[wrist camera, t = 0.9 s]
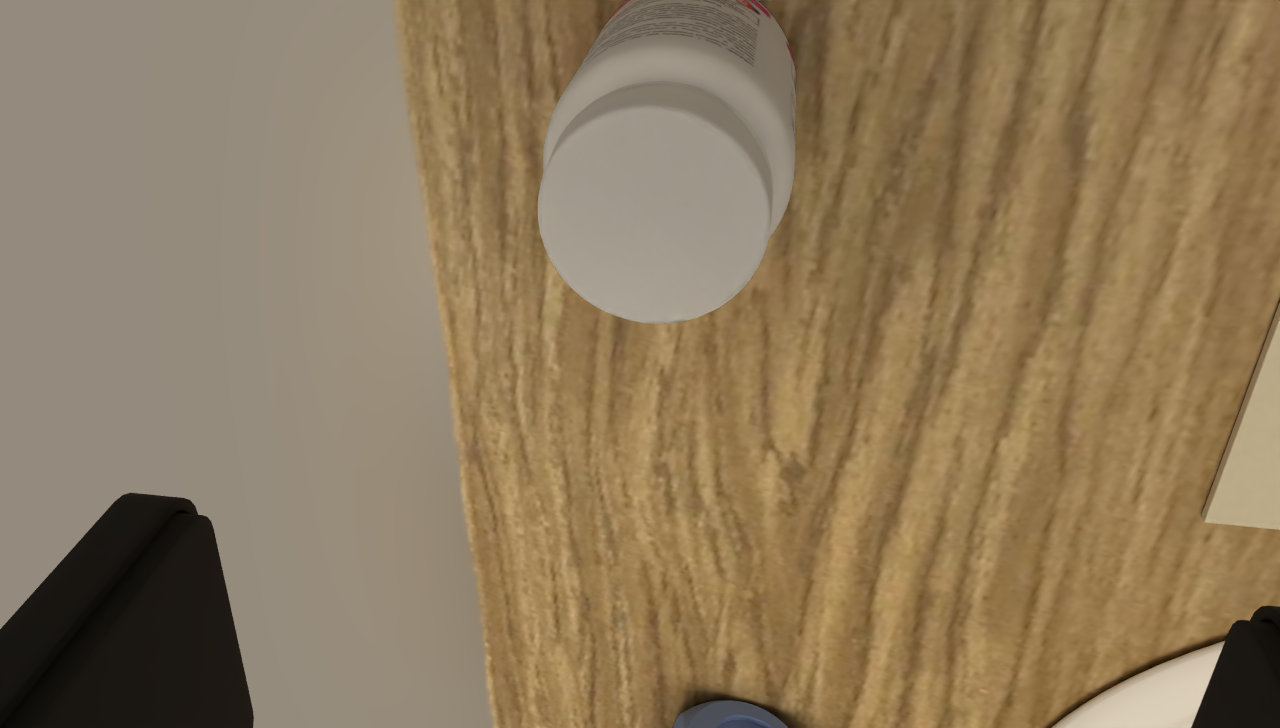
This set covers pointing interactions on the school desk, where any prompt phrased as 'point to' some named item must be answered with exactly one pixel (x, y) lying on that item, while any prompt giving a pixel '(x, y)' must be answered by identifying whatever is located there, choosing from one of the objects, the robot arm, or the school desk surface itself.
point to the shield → (1152, 696)
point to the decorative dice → (727, 716)
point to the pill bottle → (670, 158)
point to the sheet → (1253, 450)
